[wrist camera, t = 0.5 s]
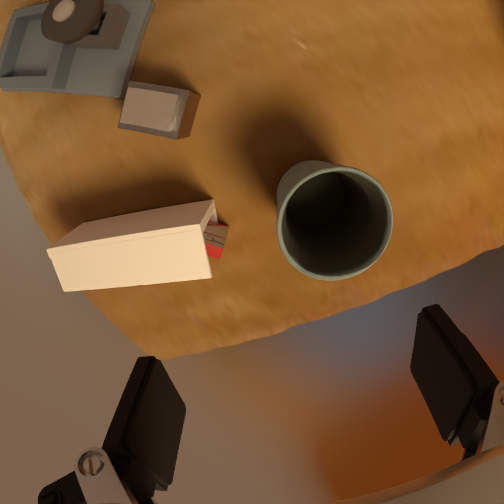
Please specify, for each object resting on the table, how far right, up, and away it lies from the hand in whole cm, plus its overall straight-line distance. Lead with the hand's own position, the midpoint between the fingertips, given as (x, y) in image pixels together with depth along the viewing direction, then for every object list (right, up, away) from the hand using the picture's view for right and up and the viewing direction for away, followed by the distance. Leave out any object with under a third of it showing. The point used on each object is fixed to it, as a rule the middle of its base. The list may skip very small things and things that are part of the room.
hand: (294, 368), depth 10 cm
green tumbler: (+6, +11, +25) cm, 28 cm away
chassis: (-25, +31, +17) cm, 43 cm away
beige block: (-11, +20, +21) cm, 31 cm away
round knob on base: (-19, +29, +12) cm, 36 cm away
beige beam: (-14, +7, +28) cm, 32 cm away
